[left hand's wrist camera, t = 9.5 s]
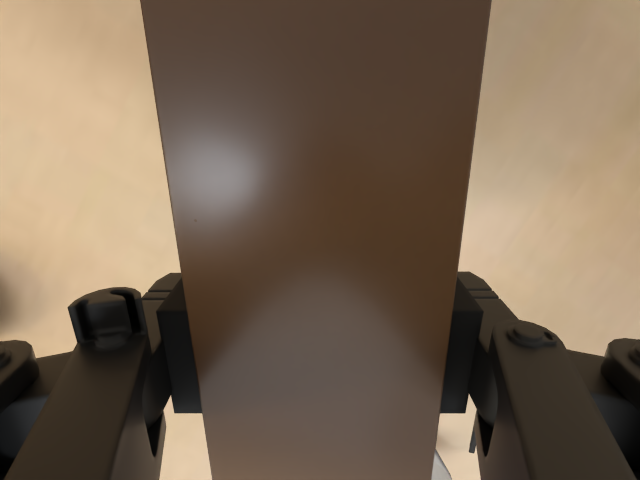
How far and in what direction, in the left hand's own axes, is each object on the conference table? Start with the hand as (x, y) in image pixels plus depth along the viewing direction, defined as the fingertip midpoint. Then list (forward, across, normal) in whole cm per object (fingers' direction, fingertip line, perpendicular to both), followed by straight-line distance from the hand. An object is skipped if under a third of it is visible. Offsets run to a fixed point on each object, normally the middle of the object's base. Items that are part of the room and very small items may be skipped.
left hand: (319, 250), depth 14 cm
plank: (+1, 0, -21) cm, 21 cm away
